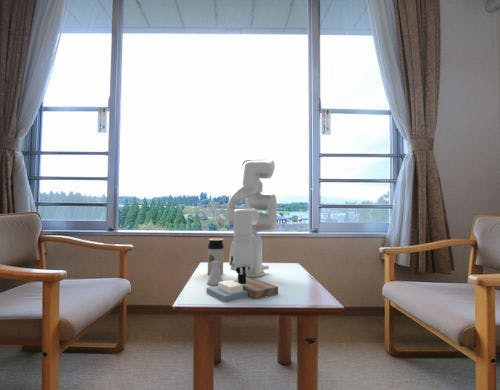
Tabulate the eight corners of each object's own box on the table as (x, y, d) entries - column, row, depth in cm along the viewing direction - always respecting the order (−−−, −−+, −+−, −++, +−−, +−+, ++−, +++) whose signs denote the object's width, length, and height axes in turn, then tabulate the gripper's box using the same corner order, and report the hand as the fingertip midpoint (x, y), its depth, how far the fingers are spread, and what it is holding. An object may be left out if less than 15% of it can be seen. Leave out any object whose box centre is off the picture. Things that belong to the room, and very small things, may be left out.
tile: (230, 286, 130) (230, 280, 130) (242, 291, 122) (242, 284, 122) (218, 288, 126) (218, 282, 126) (230, 293, 119) (230, 287, 119)
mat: (228, 288, 133) (228, 283, 133) (247, 296, 122) (248, 291, 122) (206, 292, 127) (206, 287, 127) (224, 301, 115) (224, 296, 115)
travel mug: (217, 271, 166) (217, 237, 166) (226, 274, 160) (226, 239, 160) (204, 273, 160) (205, 238, 161) (213, 276, 155) (214, 240, 155)
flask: (214, 287, 135) (215, 264, 136) (203, 283, 140) (204, 261, 140) (226, 283, 141) (227, 261, 141) (215, 281, 146) (216, 259, 146)
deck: (251, 284, 140) (251, 277, 140) (278, 294, 126) (278, 286, 126) (229, 288, 133) (229, 281, 133) (254, 299, 119) (254, 291, 119)
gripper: (251, 236, 135) (251, 279, 135) (222, 238, 127) (221, 284, 126) (262, 238, 129) (261, 282, 129) (232, 240, 120) (231, 288, 120)
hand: (242, 283), depth 128 cm, fingers closed
